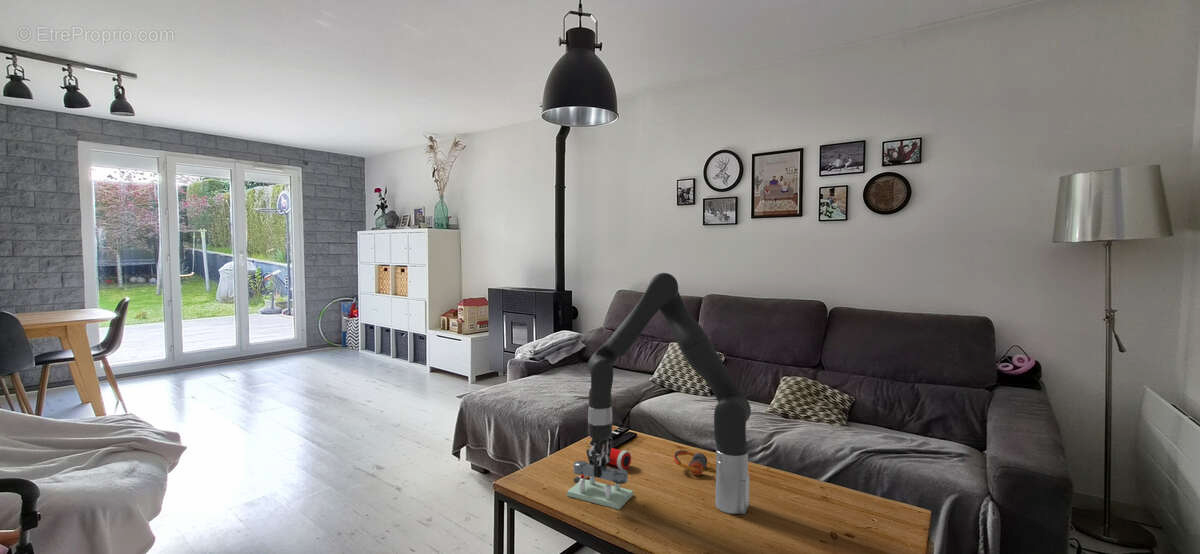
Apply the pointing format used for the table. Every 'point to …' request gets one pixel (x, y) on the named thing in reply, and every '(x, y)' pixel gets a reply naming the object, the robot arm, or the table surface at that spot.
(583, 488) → the tool rack
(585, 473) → the grey ball-ended rod
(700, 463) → the headphones
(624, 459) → the toy hammer
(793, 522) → the table surface
